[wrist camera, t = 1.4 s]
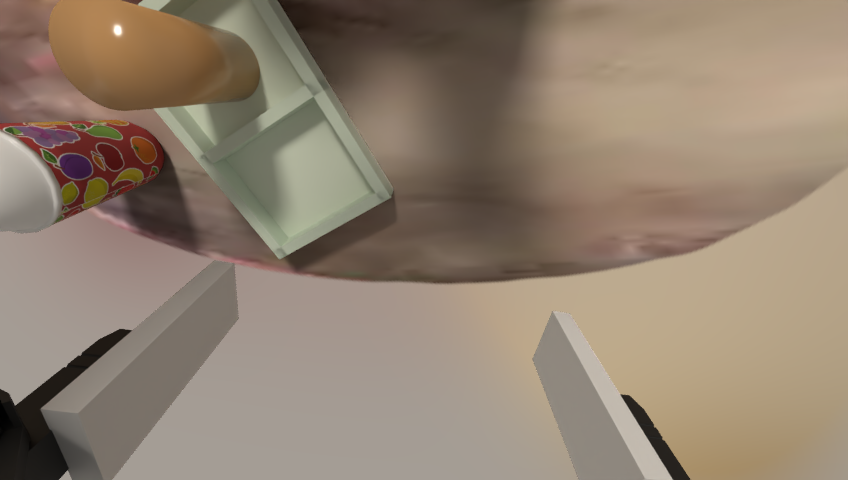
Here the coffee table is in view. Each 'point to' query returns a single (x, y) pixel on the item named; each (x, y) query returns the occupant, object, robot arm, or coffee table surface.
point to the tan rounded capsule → (148, 56)
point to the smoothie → (69, 168)
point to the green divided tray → (278, 133)
